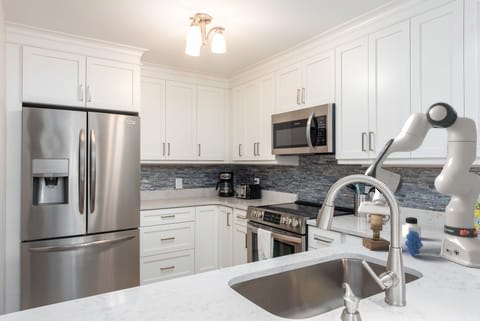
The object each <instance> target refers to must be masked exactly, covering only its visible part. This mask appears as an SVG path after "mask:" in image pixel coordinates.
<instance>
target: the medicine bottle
mask: <svg viewBox="0 0 480 321" xmlns="http://www.w3.org/2000/svg"><path fill="white" fill-rule="evenodd" d="M401 226H402V227H401V228H402V230H401V231H402V232H401V234H402V235H401V236H402V237H403V238H405V239H406V240H407V238H406V235H407V234H409V231H411V230H413V231H416V232H417V233H418V234H419V236H418V237H420V238H421V239H422V228H421V226H418V218H416V217H413V216H407V217H405V224H402V225H401Z"/></svg>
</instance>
